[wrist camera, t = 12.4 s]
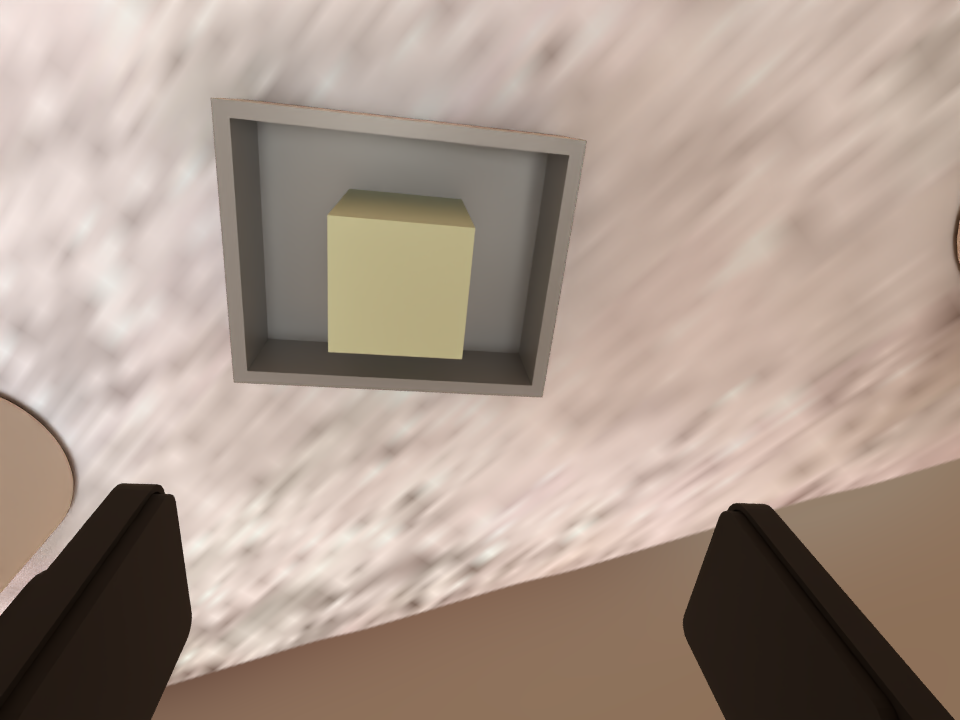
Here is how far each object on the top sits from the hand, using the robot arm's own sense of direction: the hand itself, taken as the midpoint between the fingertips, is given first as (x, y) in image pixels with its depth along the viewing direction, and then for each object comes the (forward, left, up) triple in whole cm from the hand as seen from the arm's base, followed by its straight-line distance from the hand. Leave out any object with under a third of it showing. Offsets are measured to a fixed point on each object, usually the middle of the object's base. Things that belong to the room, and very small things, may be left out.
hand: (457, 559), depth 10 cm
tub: (+2, 0, -24) cm, 24 cm away
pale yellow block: (+1, 0, -24) cm, 24 cm away
